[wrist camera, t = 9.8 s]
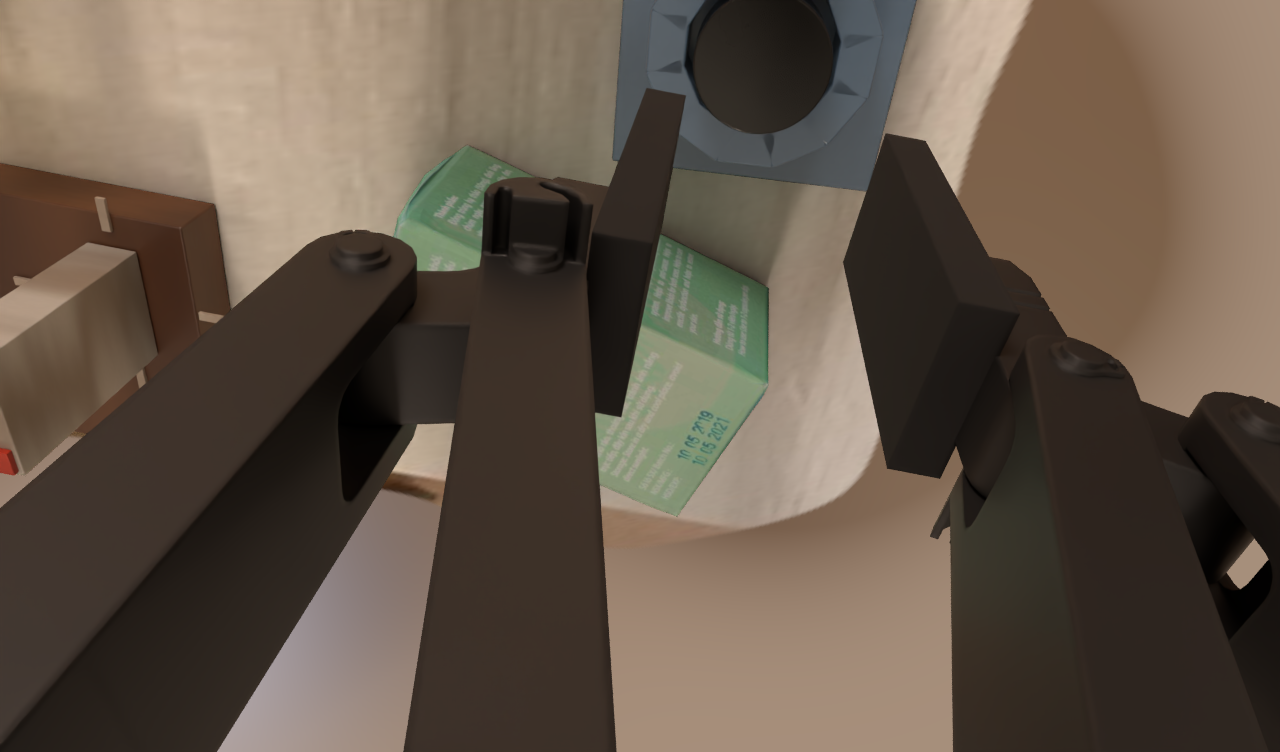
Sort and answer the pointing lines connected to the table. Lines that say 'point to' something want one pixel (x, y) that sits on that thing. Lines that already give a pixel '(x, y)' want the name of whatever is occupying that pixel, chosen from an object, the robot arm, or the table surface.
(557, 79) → the table surface
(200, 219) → the dial panel
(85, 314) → the red-tipped grey block
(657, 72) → the button box
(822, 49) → the button
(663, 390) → the box
